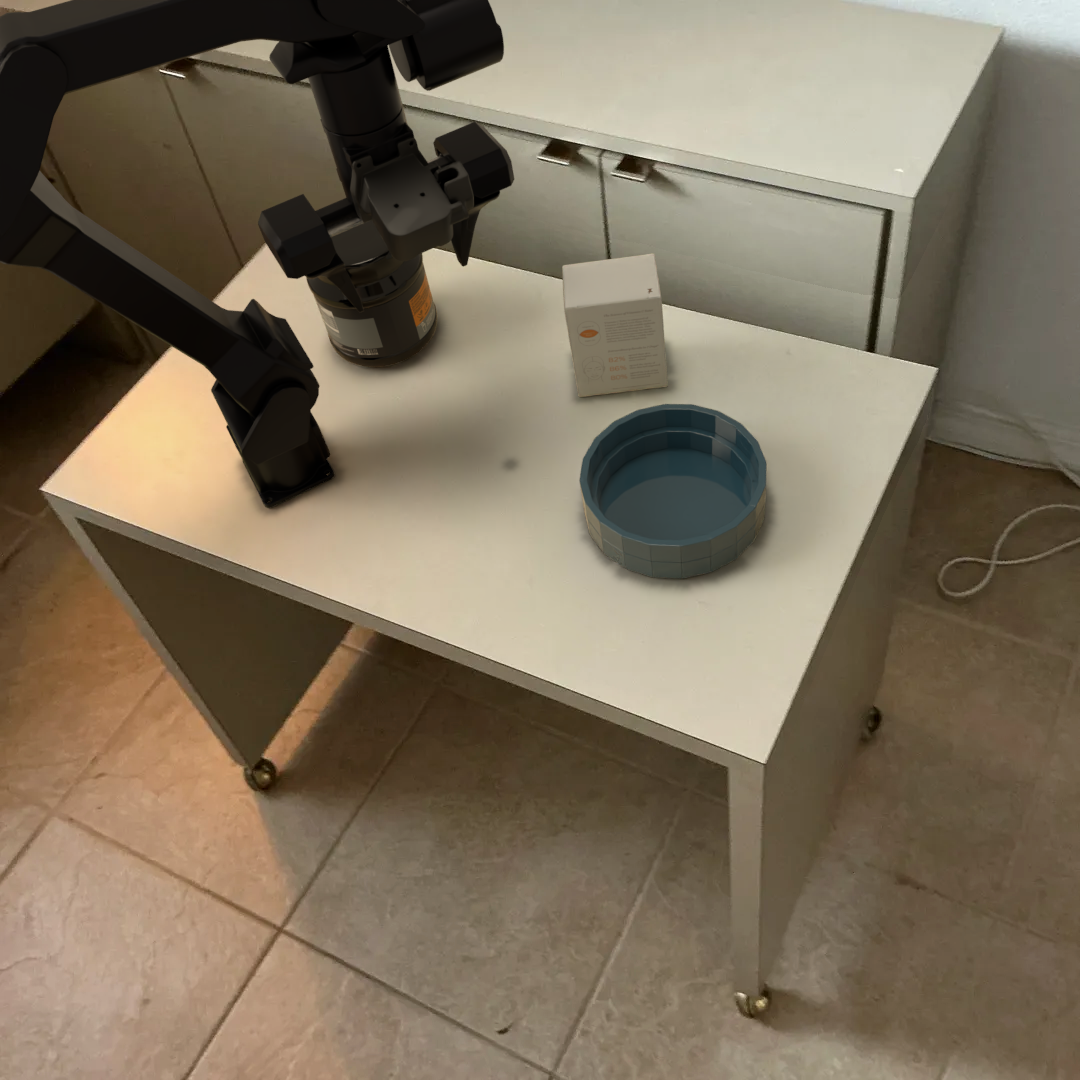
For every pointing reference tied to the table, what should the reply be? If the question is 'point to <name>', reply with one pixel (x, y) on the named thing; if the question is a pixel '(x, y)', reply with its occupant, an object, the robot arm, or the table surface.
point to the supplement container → (376, 302)
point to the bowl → (674, 490)
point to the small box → (615, 325)
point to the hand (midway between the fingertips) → (411, 286)
